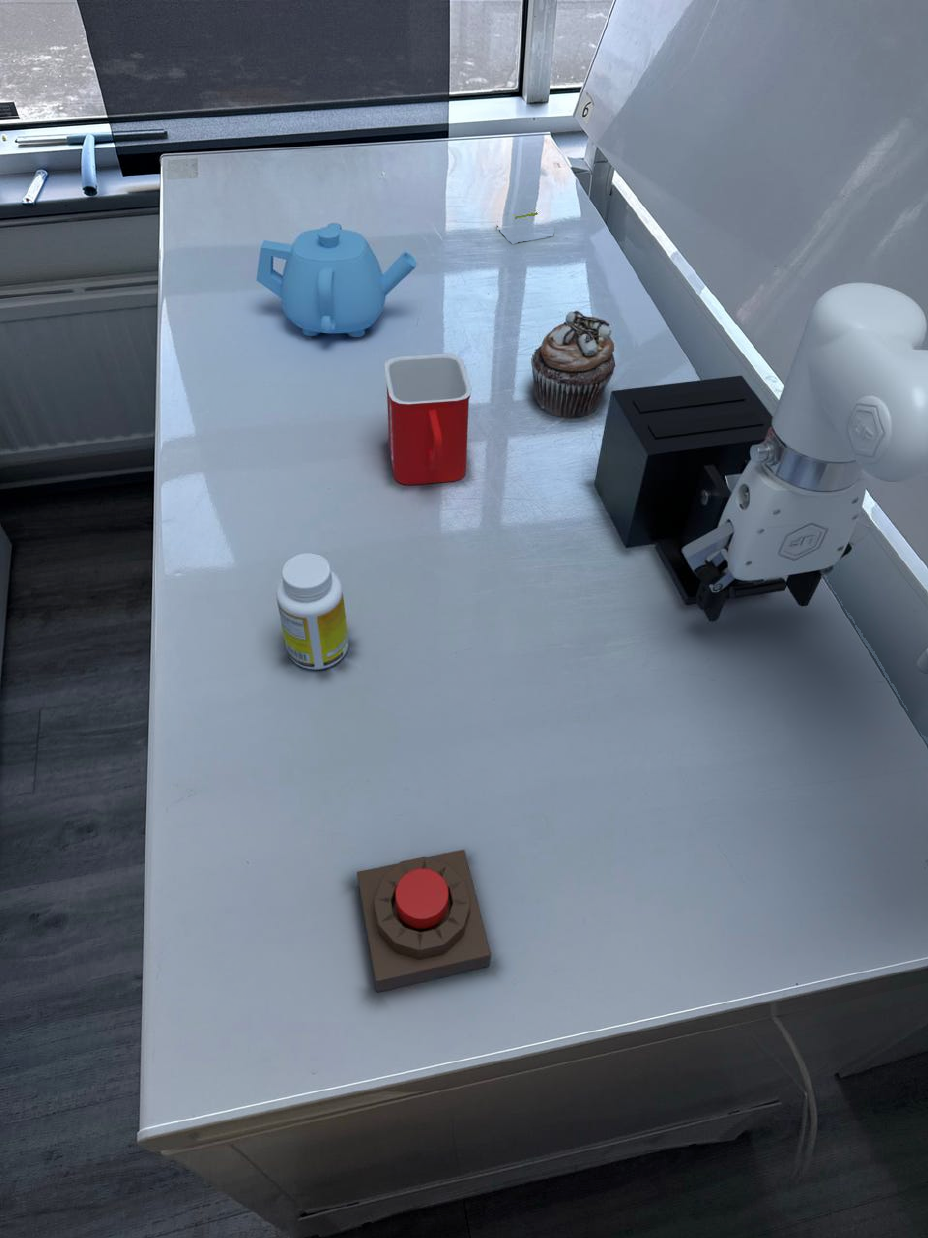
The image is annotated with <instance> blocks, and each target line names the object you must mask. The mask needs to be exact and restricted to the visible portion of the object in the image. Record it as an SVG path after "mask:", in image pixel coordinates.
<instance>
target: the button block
mask: <svg viewBox="0 0 928 1238" xmlns="http://www.w3.org/2000/svg"><path fill="white" fill-rule="evenodd" d="M420 868H424V869H430V870H433V871H435V872H437V873H438V874H439V875H441V876H442V878H443V879H444V880H445V882H446V884H447V887H448V893H449V895H448V908H447V912H446V914H445V916H444V917H443V919H442V920H441V921H440V922H439V923H438V924H436V925H434V926H432V927H429V928H425V929H419V928H414V927H411V926H409V925H407V924H406V923H405V922H403V921H402V919H401V918H400V917H399V915H398V912H397V909H396V898H395V892H396V887H397V884H398V882H399V881H400V879H401V878H402V877H403V876H404V875H405V874H406V873H408V872H410V871H412V870H415V869H420ZM471 875H472V874H471V871H470V867H469V863H468V859H467V856H466V852H465V849H461V850H456V851H450V852H447V853H446V852H445V853H441V854H437V855H433V856H420V857H415V858H410V859H406V860H401V861H400V862H398V863H393V864H388V865H383V866H379V867H373V868H369V869H365V870H360V871H359V870H358V871H356V877H357V884H358V891H359V895H360V903H361V908H362V914H363V920H364V925H365V931H366V937H367V942H368V948H369V954H370V961H371V965H372V966H371V967H372V972H373V978H374V984H375V989H376V993H381V992H385V991H389V990H394V989H397V988H403V987H406V986H410V985H411V986H412V985H415V984H419V983H424V982H428V981H432V980H436V979H441V978H446V977H449V976H453V975H458V974H462V973H463V974H464V973H466V972H471V971H475V970H479V969H484V968H489V967H490V965H491V958H492V953H491V949H490V944H489V941H488V937H487V934H486V929H485V926H484V921H483V917H482V914H481V910H480V906H479V902H478V899H477V894H476V891H475V887H474V883H473V879H472V876H471Z"/></svg>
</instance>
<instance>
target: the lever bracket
mask: <svg viewBox="0 0 928 1238" xmlns="http://www.w3.org/2000/svg"><path fill="white" fill-rule="evenodd" d="M749 462H750V460H745V461H744V463H743V465H742V468H741V471H740V474H742V473H743V471H744V470H745V468H746V466H747V465H748V463H749ZM731 494H732V493H731V491H730V490H729V488H728V487H727V485H726V483H725V482H724V480H723V479H722V477H721V476H720V474H719V473H718V471H717V470H716V468H715V466H714V465H708V466H703V470H702V473H701V476H700V480H699V483H698V486H697V490H696V493H695V496H694V500H693V503H692V506H691V510H690V513H689V516H688V520H687V523H686V526H685V530H684V533H683V536H682V537H678V538H671V539H664V540H658V541H657V543H655V544H656V545H655V549H656V551H657V552H658V554H659V556H660V558H661V560H662V562H663V564H664V567H666V570H667V572H668V574H669V575H670V577H671V579H672V581H673V583H674V585H675V587H676V588H677V591H678V592H679V594H680V596H681V598H682V599H683V602H684V604H685V605H691V604H692V605H693V604H697V603H696V594H697V591H698V588H699V585H700V582H701V580H700V579H699V578H697V576H696V575H695V573H694V571H693V570H692V568H691V566H690V565H689V563H688V562H687V560H686V558H685V556H684V554H683V553H682V549H683V547H685V546H686V545H688V544H690V543H691V542H693V541H695V540H697V539H698V538H700V537H702V536H704V535H706V534H707V533H709V532H711V531H713V530H715V529H716V528H718V525H719V522H720V519H721V517H722V514H723V512H724V509H725V507H726V505H727V502H728V500H729V498H730V496H731ZM727 567H728V564H727V562H726V560H724V561H723V562H722V563H720V564H719V565H718V566H717V567H716V568H717V569H718V571H719V572H720V573H721V572H722V571H724V570H725V569H726V568H727ZM746 583H748V582H747V580H739V579H736V578H735V579H734V580H733V581H731V582H730V583H729V584H728V585H727V586H726V587H725V588H726V589H727V592H728V595H727V597H726V599H729V598H731V597H730V595H729V588H730V586H733V585H739V584H746Z"/></svg>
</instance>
